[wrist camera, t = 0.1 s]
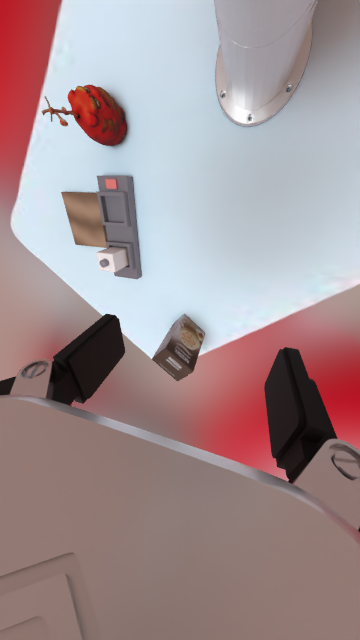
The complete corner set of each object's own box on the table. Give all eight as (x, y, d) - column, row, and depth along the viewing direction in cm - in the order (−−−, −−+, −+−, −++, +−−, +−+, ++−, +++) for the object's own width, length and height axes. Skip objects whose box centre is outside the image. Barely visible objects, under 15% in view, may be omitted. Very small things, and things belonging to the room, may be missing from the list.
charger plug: (114, 246, 46) (92, 253, 39) (128, 247, 45) (108, 255, 39) (117, 262, 48) (97, 271, 42) (130, 263, 47) (112, 273, 41)
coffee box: (206, 332, 55) (195, 373, 42) (192, 342, 59) (178, 382, 46) (184, 312, 54) (165, 348, 41) (171, 324, 57) (150, 360, 44)
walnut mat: (64, 192, 45) (61, 191, 44) (99, 193, 43) (96, 193, 42) (78, 243, 52) (75, 244, 51) (109, 247, 49) (106, 247, 48)
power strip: (104, 176, 41) (92, 174, 37) (132, 177, 39) (122, 175, 36) (119, 273, 53) (111, 277, 50) (141, 276, 51) (134, 281, 48)
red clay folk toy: (135, 119, 34) (75, 74, 22) (119, 159, 38) (62, 140, 26) (102, 85, 33) (19, 17, 21) (89, 129, 37) (14, 95, 25)
